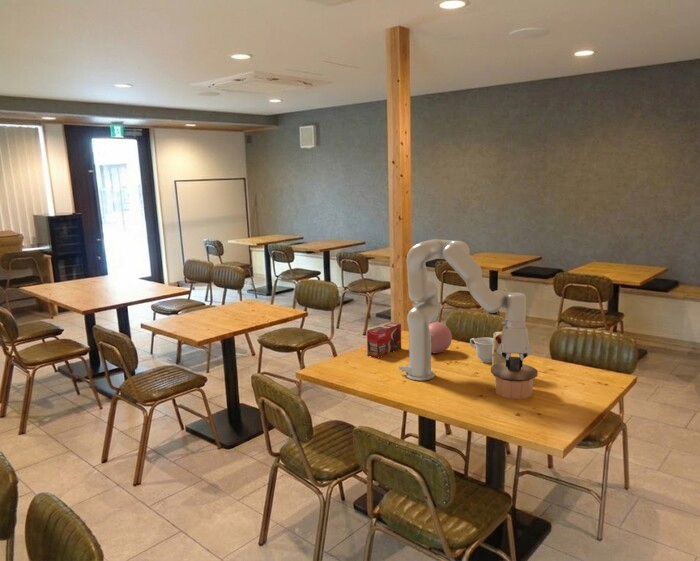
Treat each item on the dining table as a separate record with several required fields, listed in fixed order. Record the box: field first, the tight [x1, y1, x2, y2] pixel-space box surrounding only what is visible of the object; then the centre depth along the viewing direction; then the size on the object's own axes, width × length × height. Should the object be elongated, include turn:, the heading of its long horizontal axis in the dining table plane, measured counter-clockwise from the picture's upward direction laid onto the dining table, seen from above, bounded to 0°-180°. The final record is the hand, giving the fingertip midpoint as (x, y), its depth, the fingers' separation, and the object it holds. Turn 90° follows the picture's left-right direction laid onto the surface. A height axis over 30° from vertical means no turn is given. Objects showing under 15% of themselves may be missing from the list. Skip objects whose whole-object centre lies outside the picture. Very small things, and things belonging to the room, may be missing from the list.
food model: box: [491, 330, 512, 377], centre depth 237 cm, size 10×7×20 cm
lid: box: [490, 355, 539, 380], centre depth 217 cm, size 18×18×6 cm
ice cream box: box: [366, 321, 402, 359], centre depth 274 cm, size 20×6×13 cm, turn 139°
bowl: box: [494, 376, 534, 400], centre depth 218 cm, size 14×14×7 cm
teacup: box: [469, 336, 493, 364], centre depth 258 cm, size 12×15×10 cm
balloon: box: [429, 321, 453, 354], centre depth 271 cm, size 15×20×15 cm
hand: (513, 368), depth 217 cm, fingers closed on lid, 3 cm apart
